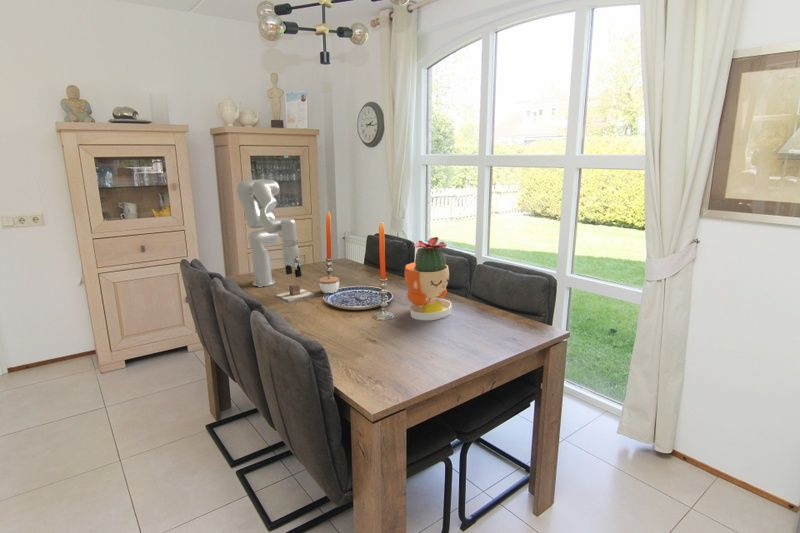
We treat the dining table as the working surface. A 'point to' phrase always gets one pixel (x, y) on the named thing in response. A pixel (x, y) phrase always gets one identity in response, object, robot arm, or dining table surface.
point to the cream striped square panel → (295, 300)
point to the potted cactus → (428, 282)
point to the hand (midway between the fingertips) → (293, 275)
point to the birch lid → (294, 293)
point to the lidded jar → (329, 284)
